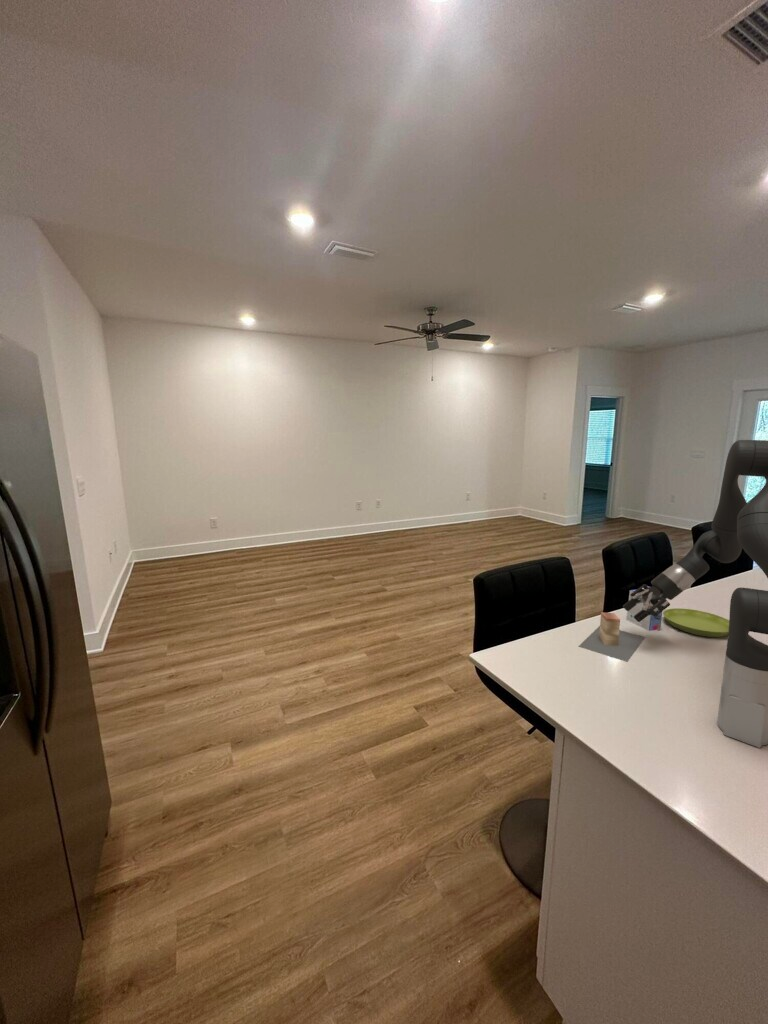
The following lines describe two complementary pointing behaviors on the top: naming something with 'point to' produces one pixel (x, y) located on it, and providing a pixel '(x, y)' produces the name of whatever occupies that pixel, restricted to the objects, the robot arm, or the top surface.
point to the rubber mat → (622, 651)
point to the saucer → (697, 622)
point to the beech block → (609, 629)
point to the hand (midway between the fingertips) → (630, 614)
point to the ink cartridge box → (646, 623)
